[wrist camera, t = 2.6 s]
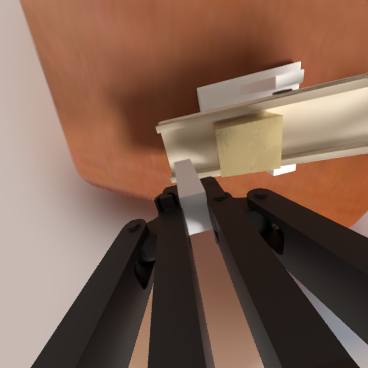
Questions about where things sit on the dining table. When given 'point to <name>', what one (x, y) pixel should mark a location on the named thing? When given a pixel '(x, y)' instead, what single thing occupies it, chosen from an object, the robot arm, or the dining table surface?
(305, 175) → the dining table surface
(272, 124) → the block
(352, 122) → the beam
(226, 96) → the stand
